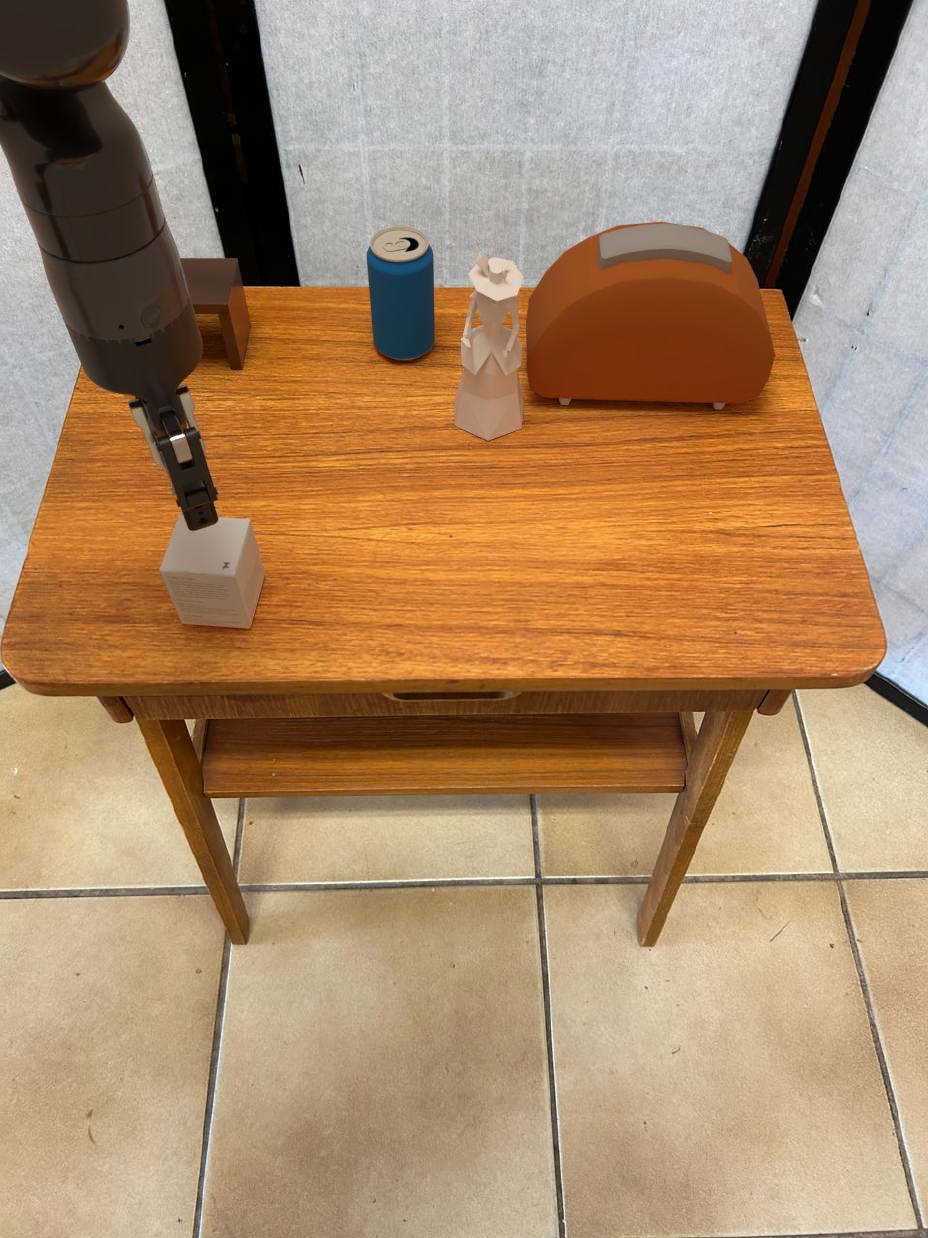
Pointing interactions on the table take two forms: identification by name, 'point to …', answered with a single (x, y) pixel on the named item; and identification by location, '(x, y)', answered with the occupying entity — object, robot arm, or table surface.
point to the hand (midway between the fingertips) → (186, 484)
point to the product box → (214, 573)
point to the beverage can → (401, 292)
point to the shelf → (221, 300)
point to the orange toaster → (649, 320)
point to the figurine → (491, 353)
